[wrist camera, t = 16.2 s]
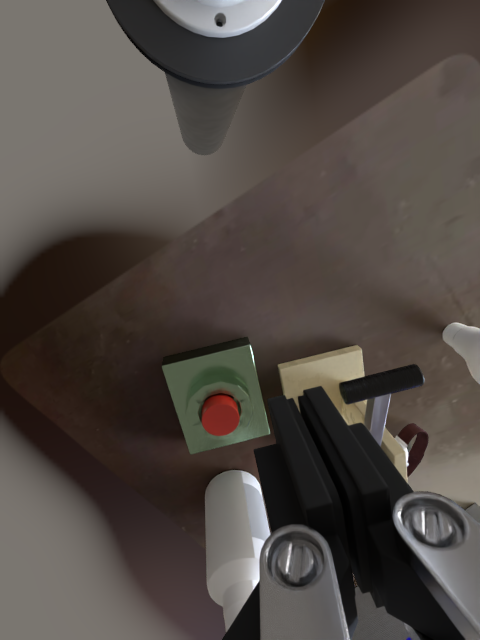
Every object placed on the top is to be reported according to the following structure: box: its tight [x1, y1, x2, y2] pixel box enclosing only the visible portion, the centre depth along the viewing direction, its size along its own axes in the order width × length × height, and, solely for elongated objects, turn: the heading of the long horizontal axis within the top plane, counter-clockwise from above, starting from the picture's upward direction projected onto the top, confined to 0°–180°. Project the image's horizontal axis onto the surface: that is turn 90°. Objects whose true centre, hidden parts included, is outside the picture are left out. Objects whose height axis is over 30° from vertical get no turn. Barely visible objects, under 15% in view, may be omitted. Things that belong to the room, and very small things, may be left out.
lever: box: [339, 364, 424, 447], centre depth 26 cm, size 13×5×2 cm, turn 12°
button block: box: [161, 337, 270, 454], centre depth 36 cm, size 11×9×4 cm
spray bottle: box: [205, 470, 270, 632], centre depth 34 cm, size 7×7×18 cm
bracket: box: [278, 345, 408, 483], centre depth 34 cm, size 11×9×13 cm
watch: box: [394, 423, 428, 478], centre depth 42 cm, size 8×5×4 cm, turn 164°
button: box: [202, 394, 239, 436], centre depth 34 cm, size 4×4×2 cm
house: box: [352, 503, 480, 640], centre depth 45 cm, size 25×16×16 cm, turn 132°
